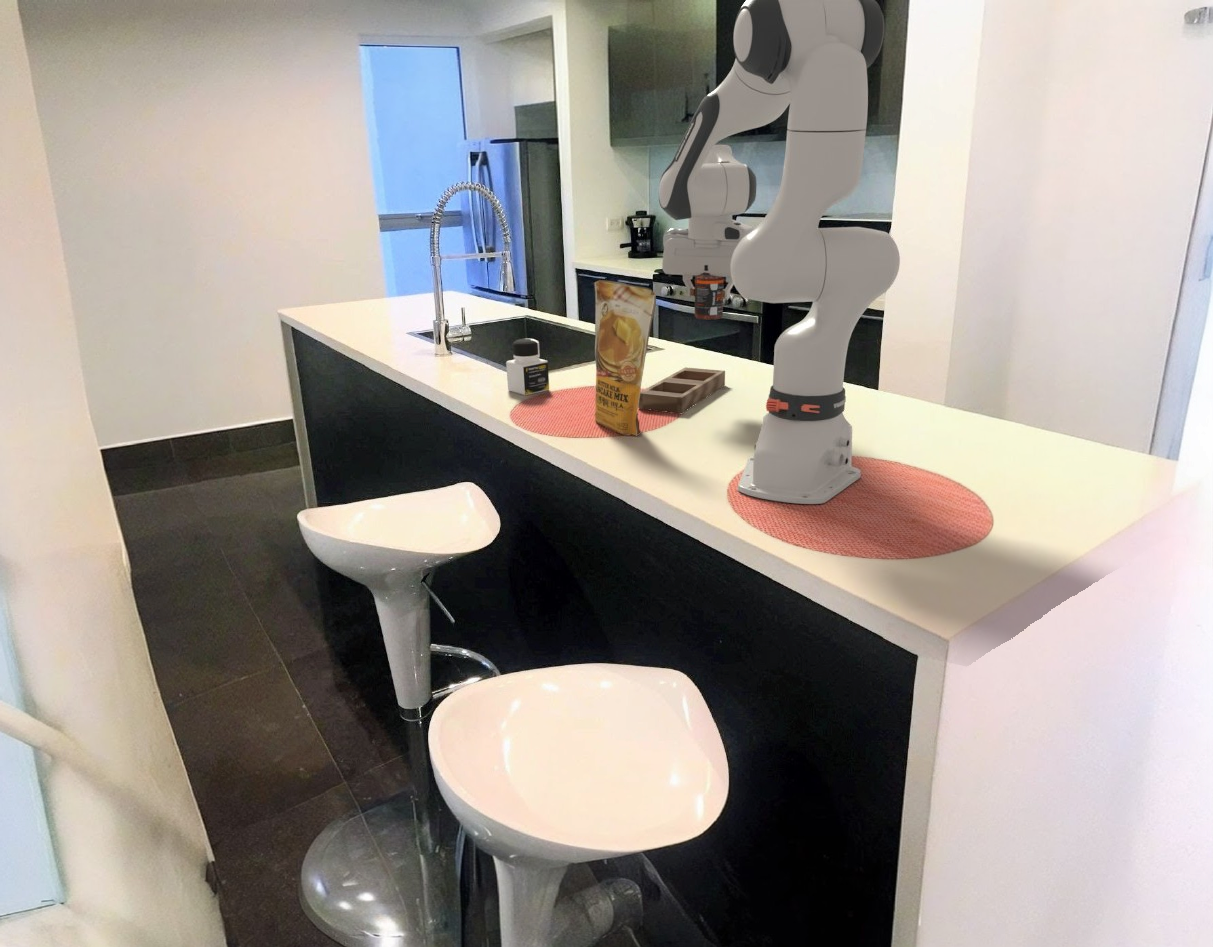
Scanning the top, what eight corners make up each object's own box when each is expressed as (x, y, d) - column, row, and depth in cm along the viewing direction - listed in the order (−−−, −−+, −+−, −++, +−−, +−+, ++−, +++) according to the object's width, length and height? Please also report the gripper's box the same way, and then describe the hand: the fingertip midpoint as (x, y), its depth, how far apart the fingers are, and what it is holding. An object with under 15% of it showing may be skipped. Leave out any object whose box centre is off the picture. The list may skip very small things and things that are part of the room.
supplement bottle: (721, 320, 173) (722, 265, 169) (693, 320, 174) (693, 265, 170) (723, 315, 179) (724, 261, 175) (695, 315, 180) (696, 261, 176)
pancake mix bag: (611, 412, 176) (608, 277, 166) (660, 434, 160) (659, 287, 151) (583, 417, 173) (578, 280, 163) (630, 440, 157) (627, 290, 148)
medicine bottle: (525, 396, 191) (522, 344, 187) (507, 390, 196) (503, 340, 192) (550, 390, 195) (547, 339, 191) (531, 385, 200) (528, 335, 196)
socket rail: (681, 413, 173) (681, 397, 172) (638, 409, 178) (638, 393, 177) (724, 385, 195) (725, 370, 194) (685, 381, 199) (685, 367, 198)
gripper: (657, 229, 172) (657, 297, 177) (752, 231, 163) (749, 302, 168) (669, 226, 177) (669, 292, 182) (762, 228, 168) (759, 297, 173)
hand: (708, 297), depth 175 cm, fingers closed on supplement bottle, 6 cm apart
